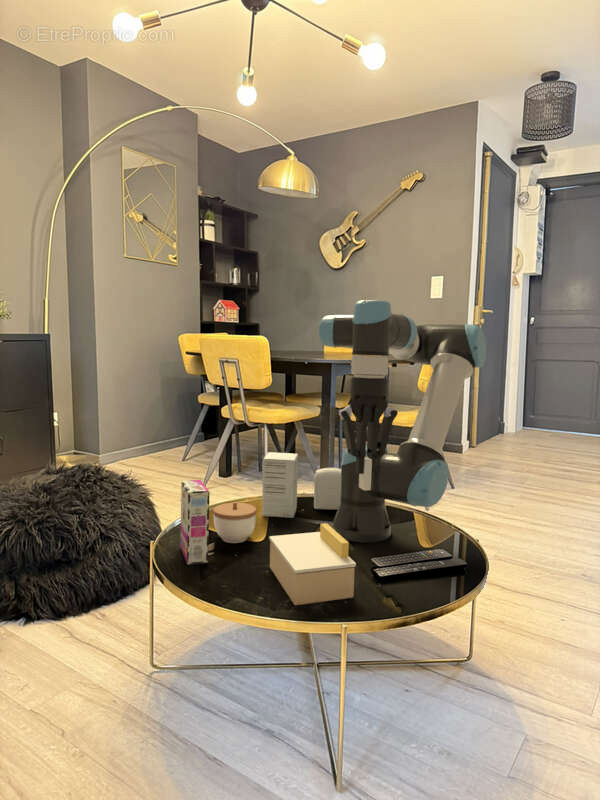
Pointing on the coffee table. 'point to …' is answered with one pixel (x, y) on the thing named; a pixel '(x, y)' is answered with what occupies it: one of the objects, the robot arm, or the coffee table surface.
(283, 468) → the supplement box
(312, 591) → the mailer box
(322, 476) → the photo printer
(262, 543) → the coffee table surface
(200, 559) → the candy bar box
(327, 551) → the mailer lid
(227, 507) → the lidded jar
